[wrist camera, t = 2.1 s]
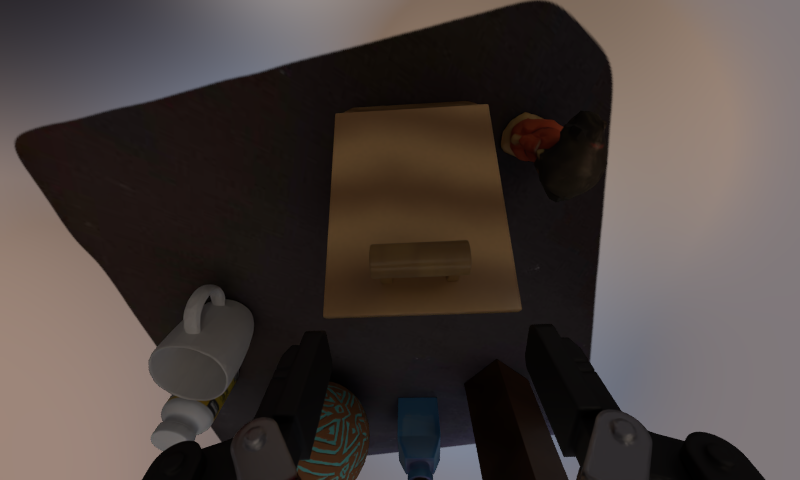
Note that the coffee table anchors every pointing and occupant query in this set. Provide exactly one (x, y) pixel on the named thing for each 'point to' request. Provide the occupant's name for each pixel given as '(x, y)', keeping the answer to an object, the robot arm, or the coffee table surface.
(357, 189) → the lid
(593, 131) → the figurine
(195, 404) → the pill bottle
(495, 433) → the tall pedestal column
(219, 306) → the mug
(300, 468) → the decorative sphere
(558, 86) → the coffee table surface
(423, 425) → the perfume bottle
